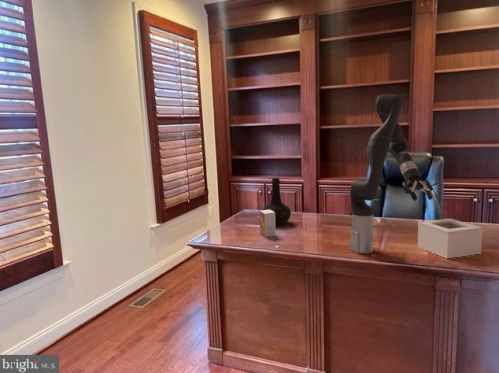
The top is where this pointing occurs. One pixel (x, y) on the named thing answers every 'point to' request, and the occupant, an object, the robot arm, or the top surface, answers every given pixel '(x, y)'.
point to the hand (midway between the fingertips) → (423, 199)
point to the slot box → (450, 238)
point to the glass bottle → (278, 204)
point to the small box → (267, 223)
